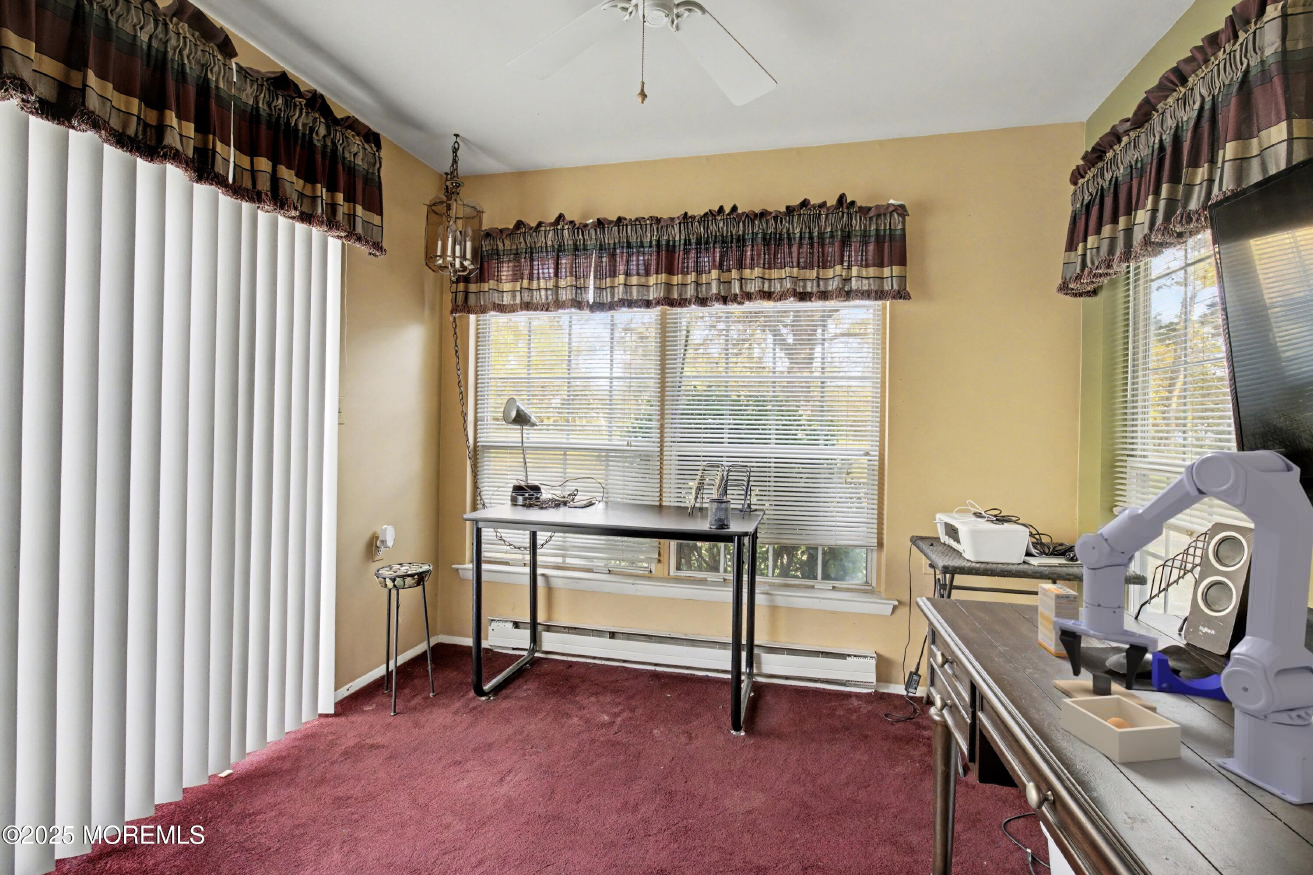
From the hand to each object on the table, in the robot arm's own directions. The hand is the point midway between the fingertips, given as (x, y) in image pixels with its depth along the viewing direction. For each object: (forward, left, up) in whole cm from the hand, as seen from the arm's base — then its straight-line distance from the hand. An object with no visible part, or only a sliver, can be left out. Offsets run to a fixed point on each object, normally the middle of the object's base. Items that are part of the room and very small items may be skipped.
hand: (1102, 681), depth 104 cm
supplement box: (+21, -10, -3) cm, 23 cm away
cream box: (-13, +10, -3) cm, 17 cm away
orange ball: (-13, +10, -1) cm, 16 cm away
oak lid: (0, 0, -3) cm, 3 cm away
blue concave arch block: (0, -19, -3) cm, 19 cm away
